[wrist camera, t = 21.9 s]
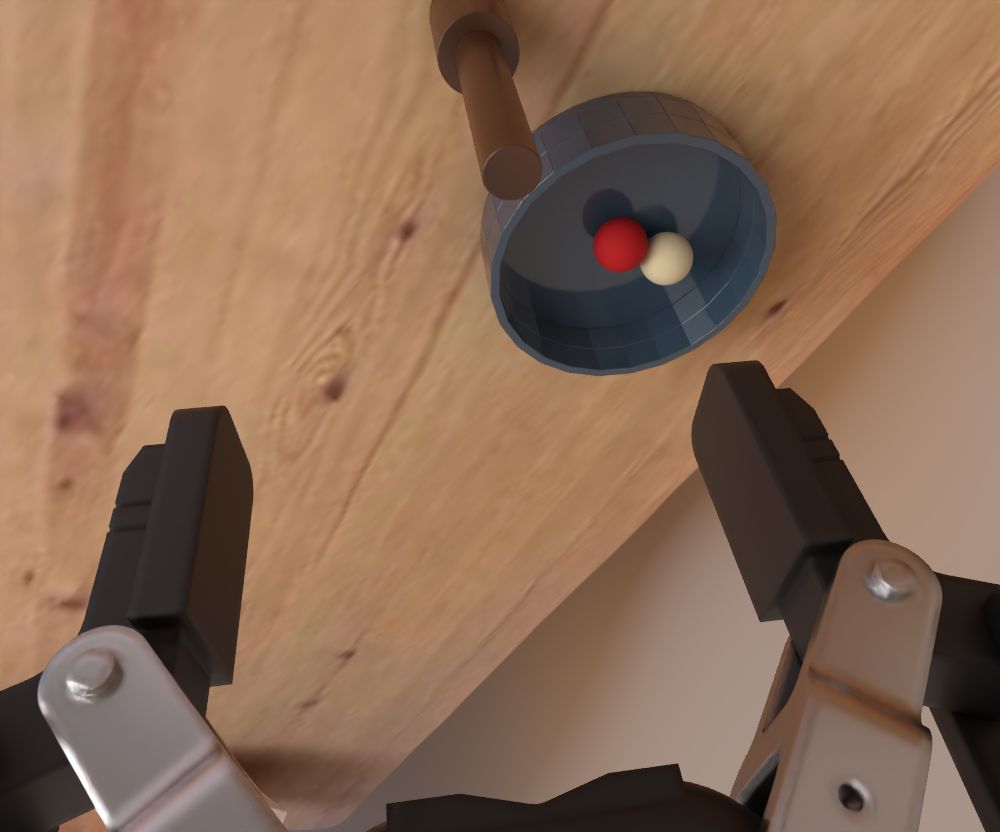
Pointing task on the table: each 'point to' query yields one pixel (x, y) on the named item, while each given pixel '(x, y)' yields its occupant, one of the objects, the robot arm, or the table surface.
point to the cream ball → (667, 258)
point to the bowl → (650, 202)
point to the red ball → (620, 244)
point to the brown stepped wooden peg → (488, 90)
